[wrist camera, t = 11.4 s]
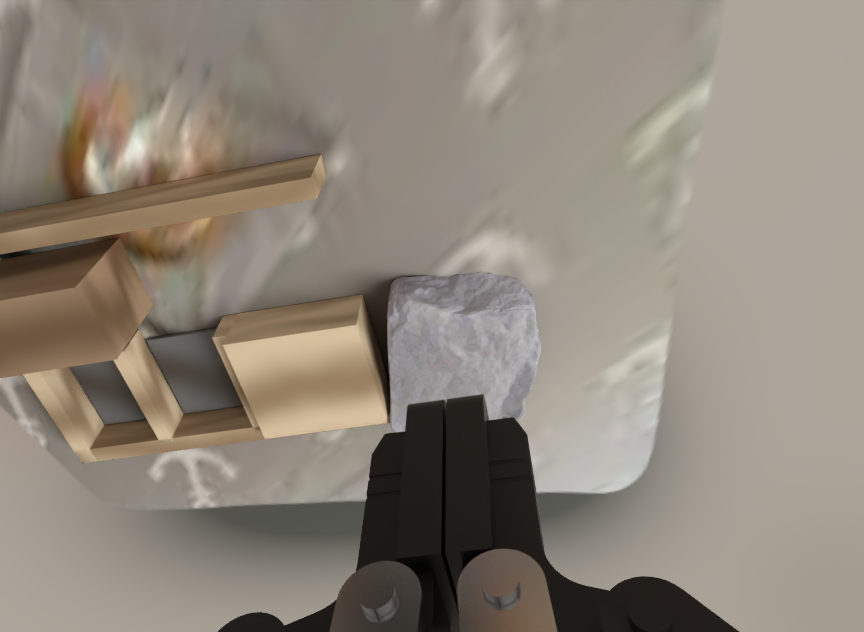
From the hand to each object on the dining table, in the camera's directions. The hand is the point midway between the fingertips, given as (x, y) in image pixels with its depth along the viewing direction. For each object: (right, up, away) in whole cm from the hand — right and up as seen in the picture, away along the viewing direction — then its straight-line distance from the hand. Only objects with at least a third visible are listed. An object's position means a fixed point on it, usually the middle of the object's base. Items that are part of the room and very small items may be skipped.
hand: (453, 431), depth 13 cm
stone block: (+2, 0, +33) cm, 33 cm away
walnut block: (-23, +5, +30) cm, 38 cm away
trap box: (-16, +2, +31) cm, 35 cm away
